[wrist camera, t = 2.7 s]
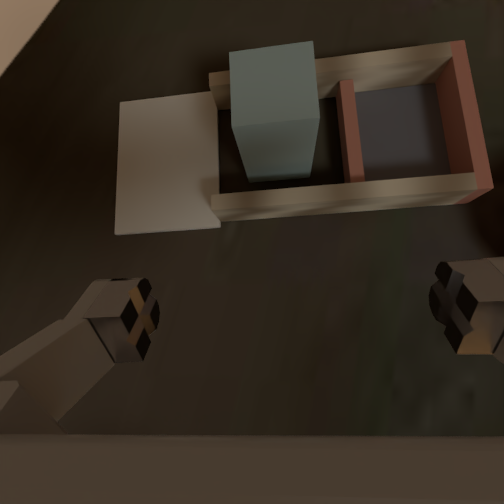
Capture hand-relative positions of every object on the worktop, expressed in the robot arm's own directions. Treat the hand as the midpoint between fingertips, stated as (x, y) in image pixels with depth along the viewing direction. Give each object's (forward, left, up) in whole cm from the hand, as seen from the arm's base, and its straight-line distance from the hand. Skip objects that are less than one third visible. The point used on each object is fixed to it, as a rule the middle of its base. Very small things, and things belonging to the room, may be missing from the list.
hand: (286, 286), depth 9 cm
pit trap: (+9, +12, -15) cm, 21 cm away
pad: (-10, +12, -15) cm, 21 cm away
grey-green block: (0, +12, -15) cm, 19 cm away
